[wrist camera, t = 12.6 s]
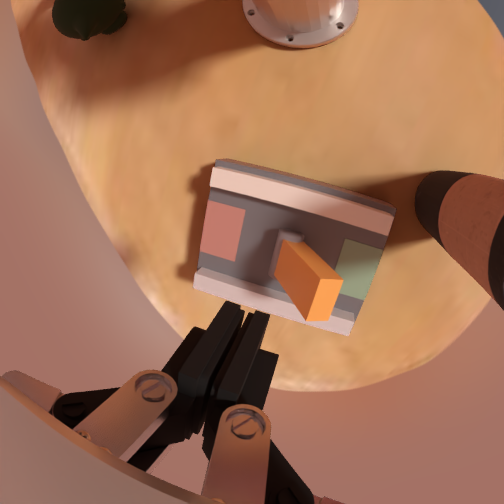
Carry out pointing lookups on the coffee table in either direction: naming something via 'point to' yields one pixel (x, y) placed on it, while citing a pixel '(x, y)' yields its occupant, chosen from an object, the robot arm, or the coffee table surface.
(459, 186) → the travel mug
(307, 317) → the breaker lever
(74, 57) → the coffee table surface
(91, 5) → the toy figurine
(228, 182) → the breaker block
